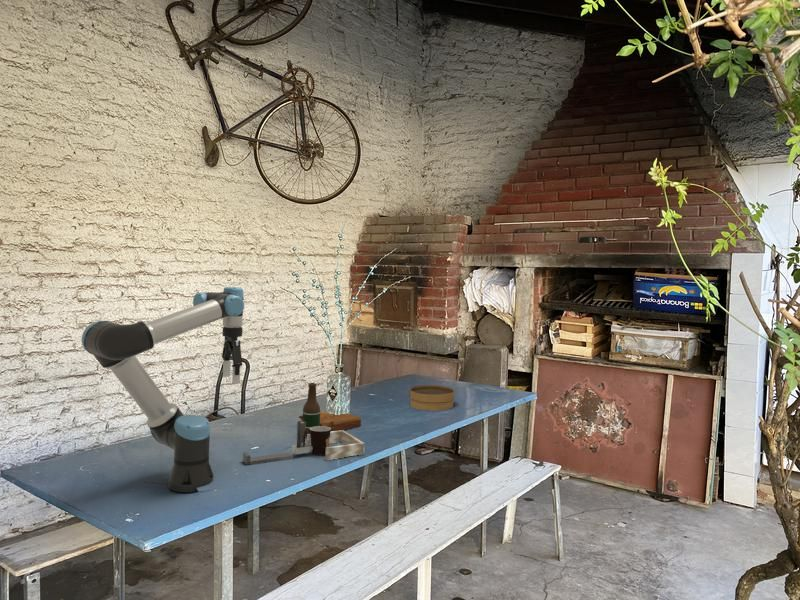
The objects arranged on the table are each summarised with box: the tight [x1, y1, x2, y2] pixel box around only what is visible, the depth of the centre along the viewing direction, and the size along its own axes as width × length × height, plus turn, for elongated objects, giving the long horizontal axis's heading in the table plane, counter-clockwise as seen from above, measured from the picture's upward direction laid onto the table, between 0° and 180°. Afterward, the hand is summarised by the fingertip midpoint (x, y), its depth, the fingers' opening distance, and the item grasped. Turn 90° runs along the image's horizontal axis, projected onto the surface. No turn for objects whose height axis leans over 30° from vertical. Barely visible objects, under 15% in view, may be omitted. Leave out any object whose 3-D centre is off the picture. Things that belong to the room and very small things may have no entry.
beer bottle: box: [302, 382, 321, 439], centre depth 258 cm, size 8×8×24 cm
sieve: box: [408, 384, 455, 412], centre depth 318 cm, size 25×25×11 cm
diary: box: [298, 411, 362, 432], centre depth 274 cm, size 23×19×6 cm
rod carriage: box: [291, 420, 330, 455], centre depth 233 cm, size 13×10×12 cm
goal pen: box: [306, 430, 366, 461], centre depth 240 cm, size 17×20×5 cm
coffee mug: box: [310, 426, 331, 456], centre depth 237 cm, size 12×9×10 cm
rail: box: [242, 451, 293, 466], centre depth 225 cm, size 19×4×4 cm, turn 122°
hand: (231, 379), depth 225 cm, fingers open, 13 cm apart
